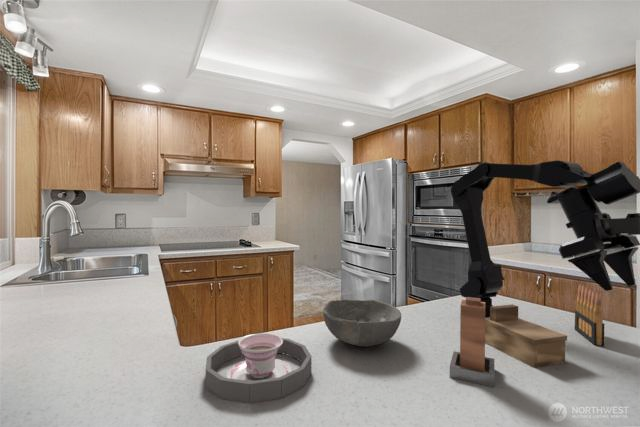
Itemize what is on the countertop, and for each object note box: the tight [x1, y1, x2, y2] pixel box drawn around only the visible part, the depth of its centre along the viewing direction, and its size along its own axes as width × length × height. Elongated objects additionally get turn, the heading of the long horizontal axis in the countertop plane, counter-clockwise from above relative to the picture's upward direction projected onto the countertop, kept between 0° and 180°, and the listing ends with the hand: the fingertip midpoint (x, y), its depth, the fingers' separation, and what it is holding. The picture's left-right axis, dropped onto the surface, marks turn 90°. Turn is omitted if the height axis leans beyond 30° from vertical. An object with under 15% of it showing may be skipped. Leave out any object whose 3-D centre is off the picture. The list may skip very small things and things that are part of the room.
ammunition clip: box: [574, 283, 605, 347], centre depth 79 cm, size 11×2×12 cm, turn 162°
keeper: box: [449, 350, 496, 388], centre depth 61 cm, size 7×7×2 cm
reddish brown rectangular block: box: [459, 297, 486, 372], centre depth 61 cm, size 4×4×14 cm
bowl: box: [322, 299, 402, 347], centre depth 76 cm, size 18×18×8 cm
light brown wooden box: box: [485, 324, 566, 369], centre depth 71 cm, size 13×8×4 cm, turn 17°
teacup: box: [225, 333, 293, 381], centre depth 61 cm, size 12×12×6 cm
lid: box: [485, 303, 568, 345], centre depth 71 cm, size 13×8×4 cm, turn 17°
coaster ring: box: [205, 337, 312, 404], centre depth 61 cm, size 19×19×3 cm
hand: (621, 287), depth 64 cm, fingers open, 9 cm apart
